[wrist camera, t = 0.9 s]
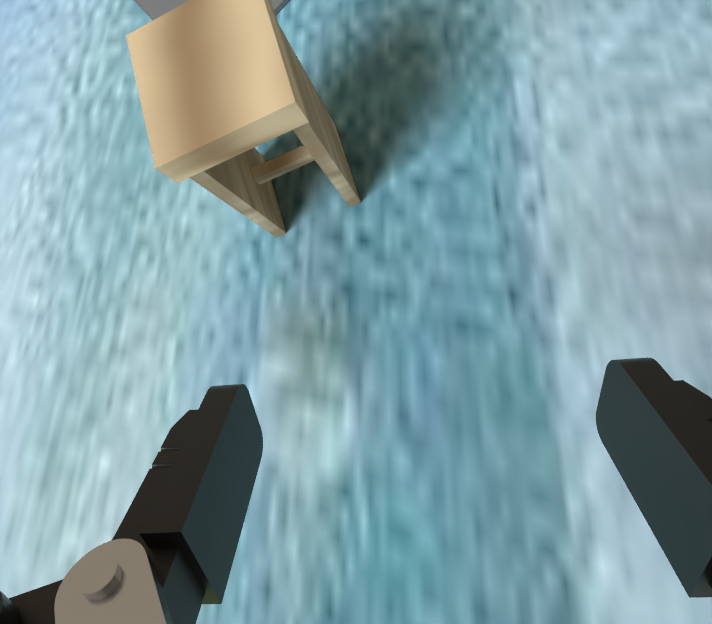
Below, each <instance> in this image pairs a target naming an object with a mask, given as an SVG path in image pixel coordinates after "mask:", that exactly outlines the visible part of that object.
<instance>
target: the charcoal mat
mask: <svg viewBox="0 0 712 624" xmlns="http://www.w3.org/2000/svg"><path fill="white" fill-rule="evenodd" d="M134 1H135V2H136V3H137V4H138V5H139V6H140V7H141V9H142V10H143V11H144V12H145V13H146V14H147V15H148V16H149V17H150V18H151V19H152V20H155V19H157V18H159V17H160V16H162V15H164V14H166V13H167V12H169V11H171V10H173V9H175V8H176V7H178V6H180V5H182V4H184V3H185V2H187V1H189V0H134ZM289 1H290V0H271V2H272V6H273V9H274V12H275V15H276V14H277V13H278V12H279V11H280V10H281V9H282V8H283V7H284V6H285V5H286V4H287V3H288V2H289Z"/></svg>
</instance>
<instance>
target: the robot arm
mask: <svg viewBox="0 0 712 624" xmlns="http://www.w3.org/2000/svg"><path fill="white" fill-rule="evenodd" d="M596 424H597V429H598V433H599V436H600V438H601V441H602V443H603V444H604V446H605V448H606V450H607V452H608V453H609V455H610V457H611V459H612V460H613V462H614V464H615V466H616V468H617V469H618V471H619V473H620V475H621V476H622V478H623V480H624V482H625V484H626V485H627V487H628V489H629V491H630V493H631V494H632V496H633V498H634V500H635V501H636V503H637V505H638V507H639V509H640V510H641V512H642V514H643V516H644V517H645V519H646V521H647V523H648V525H649V526H650V528H651V530H652V532H653V534H654V535H655V537H656V539H657V541H658V542H659V544H660V546H661V548H662V550H663V551H664V553H665V555H666V557H667V558H668V560H669V562H670V564H671V566H672V567H673V569H674V571H675V573H676V575H677V576H678V578H679V580H680V582H681V583H682V585H683V587H684V589H685V591H686V592H687V594H688V596H689V597H712V399H711V398H710V397H709V396H707V395H706V394H704V393H703V392H701V391H699V390H698V389H696V388H695V387H693V386H691V385H690V384H688V383H686V382H685V381H683V380H681V381H673V379H672V378H671V377H670V376H669V375H668V374H667V372H666V371H665V370H664V369H663V368H662V367H661V366H660V364H659V363H658V362H657V361H656V360H654V359H652V358H636V359H621V360H611V361H610V362H609V363H608V365H607V367H606V371H605V376H604V380H603V384H602V389H601V393H600V398H599V402H598V406H597V411H596ZM262 451H263V437H262V431H261V427H260V424H259V421H258V418H257V415H256V412H255V409H254V406H253V403H252V400H251V397H250V394H249V391H248V389H247V387H246V386H245V385H244V384H237V385H222V386H212V387H210V388H209V389H208V391H207V393H206V395H205V397H204V399H203V401H202V403H201V405H200V407H199V410H189V411H188V412H187V413H186V414H185V415H184V416H183V417H182V418H181V419H180V420H179V421H178V422H177V423H176V424H175V425H174V426H173V427H172V428H171V429H170V431H169V433H168V435H167V437H166V439H165V441H164V443H163V445H162V447H161V452H158V454H157V456H156V458H155V460H154V462H153V464H152V469H149V471H148V473H147V475H146V477H145V479H144V481H143V483H142V485H141V487H140V488H139V490H138V492H137V494H136V496H135V498H134V500H133V502H132V504H131V506H130V507H129V509H128V511H127V513H126V515H125V517H124V519H123V521H122V523H121V525H120V526H119V528H118V530H117V532H116V534H115V536H114V537H113V539H112V540H111V541H109V542H106V543H104V544H102V545H100V546H98V547H96V548H94V549H93V550H91V551H90V552H88V553H87V554H86V555H85V556H83V557H82V558H81V559H80V560H79V561H78V562H77V563H76V564H75V565H74V566H73V567H72V568H71V570H70V571H69V572H68V573H67V575H66V576H65V578H64V579H63V580H60V581H57V582H55V583H52V584H49V585H46V586H43V587H40V588H37V589H35V590H32V591H29V592H26V593H23V594H20V595H18V596H15V597H12V598H9V599H8V598H7V597H6V596H5V595H4V594H3V593H2V592H1V591H0V624H196V620H197V617H198V614H199V611H200V607H201V604H221V603H222V600H223V596H224V592H225V589H226V585H227V581H228V578H229V574H230V570H231V567H232V563H233V560H234V556H235V552H236V549H237V545H238V541H239V538H240V534H241V530H242V527H243V523H244V519H245V516H246V512H247V508H248V505H249V501H250V497H251V494H252V490H253V486H254V483H255V479H256V475H257V472H258V468H259V464H260V461H261V457H262Z"/></svg>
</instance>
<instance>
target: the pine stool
mask: <svg viewBox="0 0 712 624" xmlns="http://www.w3.org/2000/svg"><path fill="white" fill-rule="evenodd" d="M126 37H127V41H128V46H129V50H130V55H131V60H132V64H133V69H134V73H135V78H136V82H137V87H138V92H139V96H140V101H141V105H142V110H143V114H144V119H145V124H146V128H147V133H148V137H149V142H150V146H151V151H152V155H153V160H154V165H155V169H157V170H159V171H160V172H162V173H163V174H165V175H166V176H168V177H169V178H171V179H172V180H174V181H176V182H177V183H179V182H181V181H183V180H185V179H187V178H191V179H192V180H194V181H195V182H197V183H198V184H200V185H201V186H203V187H204V188H205V189H207V190H208V191H210V192H211V193H213V194H214V195H216V196H217V197H218V198H220V199H221V200H223V201H224V202H226V203H227V204H229V205H230V206H231V207H233V208H234V209H236V210H237V211H239V212H240V213H242V214H243V215H244V216H246V217H247V218H249V219H250V220H252V221H253V222H255V223H256V224H257V225H259V226H260V227H262V228H263V229H265V230H266V231H268V232H269V233H271V234H272V235H273V236H275V237H278V236H280V235H283V234H285V233H286V231H285V227H284V224H283V220H282V216H281V213H280V209H279V206H278V202H277V199H276V195H275V192H274V188H273V184H272V181H271V180H272V179H274V178H276V177H278V176H281V175H283V174H285V173H288V172H290V171H292V170H294V169H297V168H299V167H301V166H303V165H306V164H308V163H310V162H312V161H316V162H317V164H318V165H319V166H320V168H321V169H322V170H323V172H324V173H325V174H326V176H327V177H328V178H329V180H330V181H331V182H332V184H333V185H334V186H335V188H336V189H337V190H338V192H339V193H340V194H341V196H342V197H343V198H344V200H345V201H346V203H347V204H348V205H349V207H351V206H353V205H356V204H358V203H361V201H360V198H359V195H358V192H357V189H356V186H355V183H354V180H353V177H352V174H351V171H350V168H349V165H348V162H347V159H346V156H345V153H344V149H343V146H342V143H341V140H340V137H339V134H338V131H337V128H336V126H335V124H334V122H333V120H332V119H331V117H330V115H329V113H328V111H327V110H326V108H325V106H324V104H323V102H322V101H321V99H320V97H319V95H318V94H317V92H316V90H315V88H314V86H313V85H312V83H311V81H310V79H309V78H308V76H307V74H306V72H305V70H304V69H303V67H302V65H301V63H300V61H299V60H298V58H297V56H296V54H295V53H294V51H293V49H292V47H291V45H290V44H289V42H288V40H287V38H286V36H285V35H284V33H283V31H282V29H281V28H280V26H279V24H278V22H277V18H276V15H275V12H274V9H273V6H272V2H271V0H189V1H187V2H185V3H184V4H182V5H180V6H178V7H176V8H175V9H173V10H171V11H169V12H167V13H166V14H164V15H162V16H160V17H159V18H157V19H155V20H153V21H151V22H150V23H148V24H146V25H144V26H142V27H141V28H139V29H137V30H135V31H134V32H132V33H130V34H128V35H126ZM291 130H293V132H294V133H295V134H296V136H297V137H298V138H299V140H300V141H301V142H302V144H303V145H302V146H300V147H297V148H295V149H293V150H291V151H289V152H286V153H284V154H282V155H280V156H278V157H275V158H273V159H271V160H269V161H266V160H265V158H264V157H263V156H262V155H261V154H260V153H259V152H258V151H257V150H256V149H255V148H254V147H256V146H259V145H261V144H263V143H265V142H267V141H269V140H272V139H274V138H276V137H278V136H280V135H282V134H284V133H287V132H289V131H291Z"/></svg>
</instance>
